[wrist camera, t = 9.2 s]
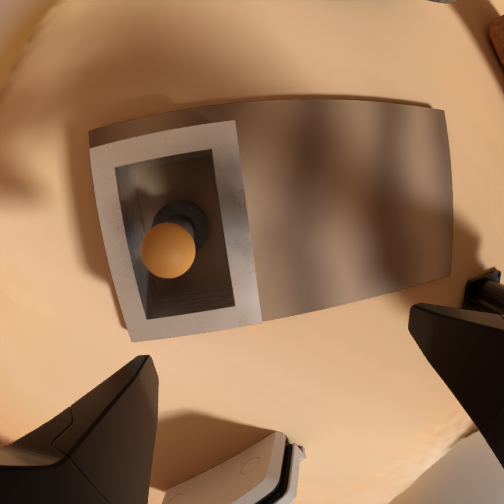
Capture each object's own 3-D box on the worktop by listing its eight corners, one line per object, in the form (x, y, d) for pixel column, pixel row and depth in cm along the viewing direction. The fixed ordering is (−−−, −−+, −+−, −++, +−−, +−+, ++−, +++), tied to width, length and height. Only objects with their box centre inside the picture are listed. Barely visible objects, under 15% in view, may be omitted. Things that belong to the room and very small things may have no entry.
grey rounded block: (198, 502, 26) (178, 557, 16) (170, 481, 26) (142, 534, 16) (307, 446, 25) (316, 512, 15) (278, 420, 25) (277, 487, 15)
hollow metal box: (228, 133, 16) (234, 120, 12) (250, 294, 19) (262, 322, 15) (113, 155, 15) (89, 148, 12) (144, 311, 18) (131, 342, 14)
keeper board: (436, 112, 19) (509, 99, 11) (443, 271, 22) (508, 302, 14) (94, 133, 16) (28, 108, 8) (134, 333, 19) (104, 409, 11)
